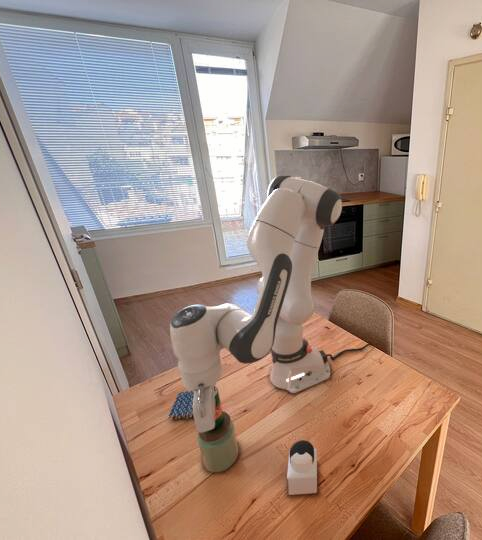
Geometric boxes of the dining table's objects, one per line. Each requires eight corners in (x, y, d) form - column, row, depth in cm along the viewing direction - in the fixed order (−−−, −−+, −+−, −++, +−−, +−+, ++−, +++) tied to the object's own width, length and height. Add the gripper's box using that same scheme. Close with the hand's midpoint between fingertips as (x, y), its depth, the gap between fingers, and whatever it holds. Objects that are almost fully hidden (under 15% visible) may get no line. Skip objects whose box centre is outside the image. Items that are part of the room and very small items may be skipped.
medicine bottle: (290, 466, 80) (288, 437, 75) (316, 464, 80) (316, 435, 75) (288, 495, 73) (285, 465, 68) (316, 493, 74) (316, 463, 69)
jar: (237, 436, 87) (231, 405, 82) (239, 465, 80) (232, 433, 74) (204, 446, 84) (196, 414, 79) (203, 477, 77) (193, 444, 71)
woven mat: (204, 417, 93) (203, 412, 92) (168, 421, 91) (167, 416, 90) (212, 391, 102) (211, 387, 101) (180, 394, 101) (179, 390, 100)
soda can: (217, 434, 74) (209, 400, 69) (199, 430, 75) (190, 396, 70) (228, 417, 78) (221, 384, 73) (211, 413, 79) (203, 380, 74)
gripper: (215, 400, 61) (224, 444, 67) (216, 341, 78) (223, 380, 84) (181, 409, 59) (194, 453, 65) (190, 346, 76) (199, 386, 82)
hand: (211, 411), depth 75 cm, fingers closed on soda can, 5 cm apart
